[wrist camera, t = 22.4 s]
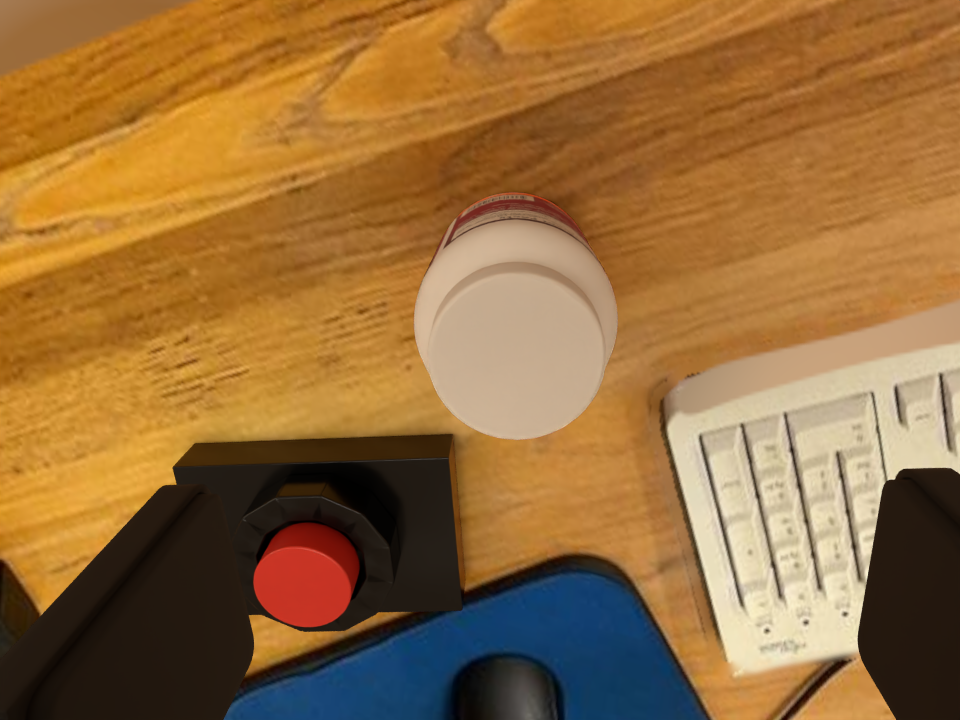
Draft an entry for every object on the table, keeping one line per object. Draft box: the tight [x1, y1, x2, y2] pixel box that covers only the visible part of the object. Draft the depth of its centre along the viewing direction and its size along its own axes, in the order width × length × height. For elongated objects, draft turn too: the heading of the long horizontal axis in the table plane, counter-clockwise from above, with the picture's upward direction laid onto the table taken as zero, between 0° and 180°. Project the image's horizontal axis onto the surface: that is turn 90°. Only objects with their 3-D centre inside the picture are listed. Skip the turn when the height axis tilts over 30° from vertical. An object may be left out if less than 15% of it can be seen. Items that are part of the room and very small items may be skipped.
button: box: [253, 522, 360, 627], centre depth 28 cm, size 4×4×2 cm
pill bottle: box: [414, 192, 618, 440], centre depth 23 cm, size 6×6×11 cm
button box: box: [173, 434, 465, 632], centre depth 31 cm, size 12×8×4 cm, turn 94°
